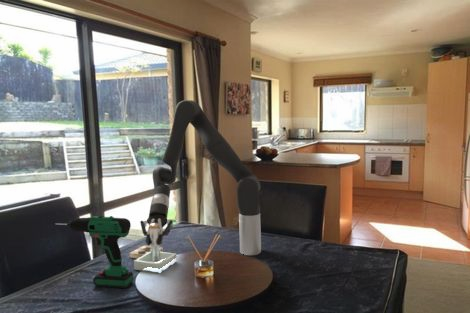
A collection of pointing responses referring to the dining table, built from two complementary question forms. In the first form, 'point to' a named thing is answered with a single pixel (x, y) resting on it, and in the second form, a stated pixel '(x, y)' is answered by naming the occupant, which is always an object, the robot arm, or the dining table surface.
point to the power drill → (107, 247)
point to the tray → (146, 262)
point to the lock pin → (154, 242)
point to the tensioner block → (141, 251)
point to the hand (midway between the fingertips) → (153, 244)
